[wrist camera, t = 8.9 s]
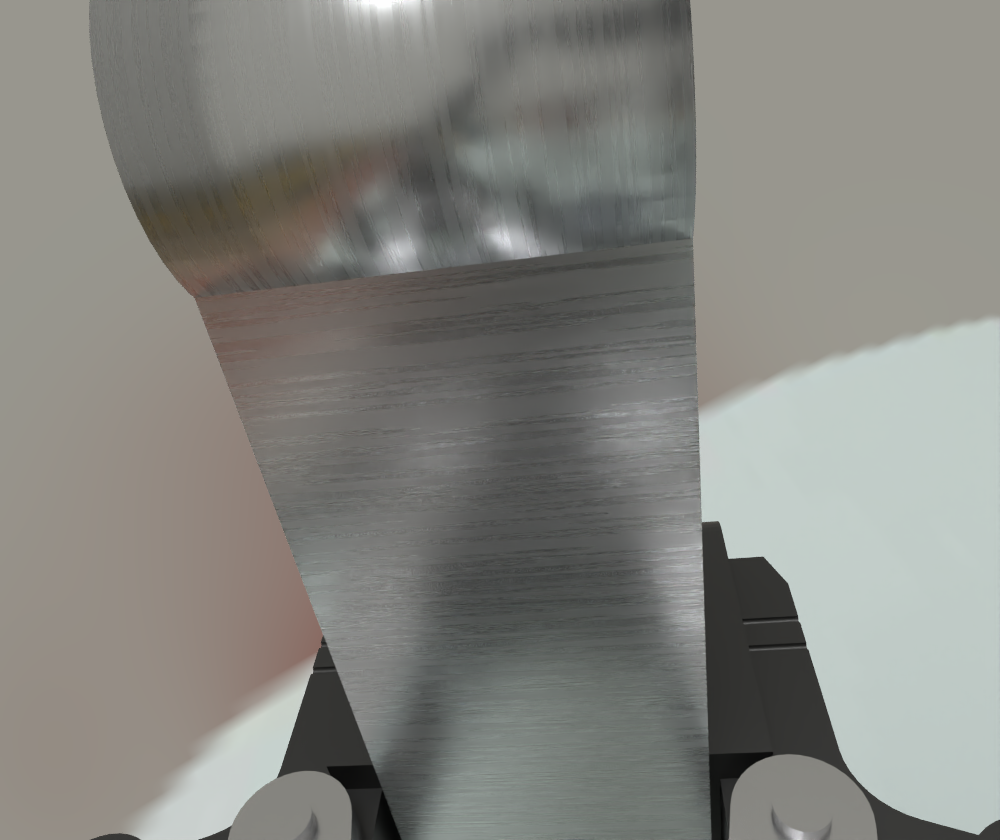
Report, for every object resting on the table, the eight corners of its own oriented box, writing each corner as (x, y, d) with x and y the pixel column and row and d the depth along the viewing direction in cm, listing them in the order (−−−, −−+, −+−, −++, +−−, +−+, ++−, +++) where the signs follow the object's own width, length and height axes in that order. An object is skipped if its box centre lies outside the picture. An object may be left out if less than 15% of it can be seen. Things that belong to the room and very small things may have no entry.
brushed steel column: (510, 972, 18) (188, -84, 7) (730, 972, 17) (718, -184, 7) (491, 1324, 14) (-345, -20, 3) (785, 1341, 13) (979, -274, 2)
